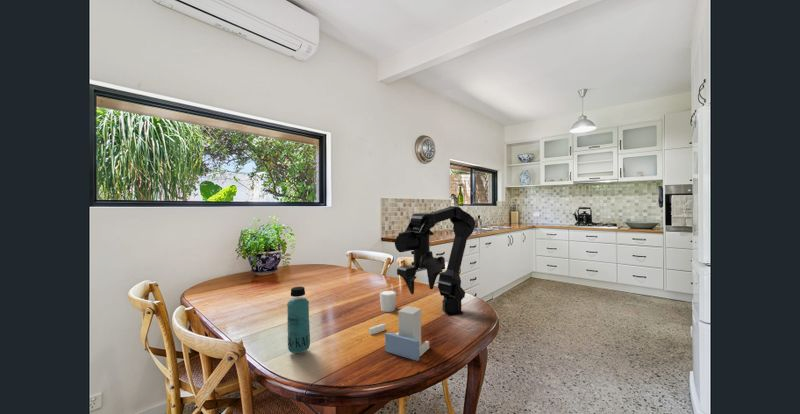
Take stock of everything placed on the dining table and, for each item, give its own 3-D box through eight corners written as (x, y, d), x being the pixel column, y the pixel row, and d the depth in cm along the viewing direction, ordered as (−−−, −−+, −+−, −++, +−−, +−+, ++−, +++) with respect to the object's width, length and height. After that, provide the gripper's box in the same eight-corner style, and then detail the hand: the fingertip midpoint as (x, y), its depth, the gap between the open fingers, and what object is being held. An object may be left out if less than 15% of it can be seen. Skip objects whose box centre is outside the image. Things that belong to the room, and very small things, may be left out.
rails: (383, 329, 114) (383, 323, 114) (401, 338, 106) (401, 332, 106) (369, 333, 110) (369, 328, 110) (386, 344, 102) (386, 338, 102)
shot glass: (394, 313, 129) (394, 295, 128) (377, 311, 130) (377, 294, 130) (398, 306, 135) (397, 290, 135) (382, 305, 137) (381, 289, 136)
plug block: (407, 343, 103) (406, 305, 102) (421, 346, 100) (420, 308, 100) (399, 349, 99) (398, 311, 98) (413, 353, 96) (412, 314, 96)
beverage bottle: (290, 348, 101) (288, 284, 100) (312, 347, 101) (310, 284, 100) (285, 359, 94) (282, 291, 93) (308, 357, 95) (306, 290, 94)
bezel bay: (400, 340, 105) (399, 323, 105) (430, 348, 99) (430, 330, 99) (385, 351, 98) (385, 333, 97) (417, 360, 92) (417, 342, 92)
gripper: (416, 255, 104) (417, 303, 104) (456, 248, 115) (456, 291, 116) (395, 250, 112) (396, 295, 113) (434, 244, 124) (434, 284, 125)
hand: (422, 291), depth 117 cm, fingers open, 9 cm apart
